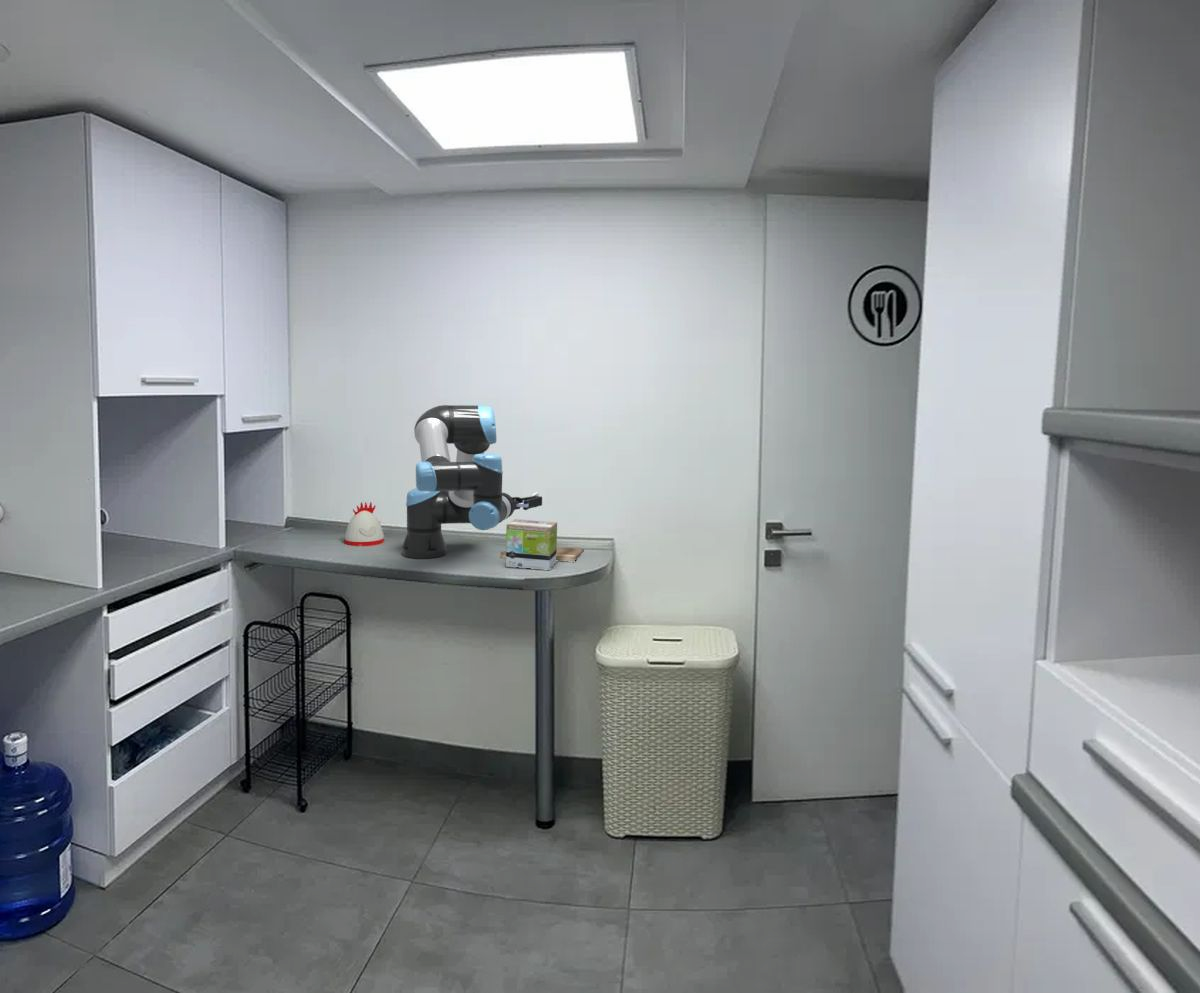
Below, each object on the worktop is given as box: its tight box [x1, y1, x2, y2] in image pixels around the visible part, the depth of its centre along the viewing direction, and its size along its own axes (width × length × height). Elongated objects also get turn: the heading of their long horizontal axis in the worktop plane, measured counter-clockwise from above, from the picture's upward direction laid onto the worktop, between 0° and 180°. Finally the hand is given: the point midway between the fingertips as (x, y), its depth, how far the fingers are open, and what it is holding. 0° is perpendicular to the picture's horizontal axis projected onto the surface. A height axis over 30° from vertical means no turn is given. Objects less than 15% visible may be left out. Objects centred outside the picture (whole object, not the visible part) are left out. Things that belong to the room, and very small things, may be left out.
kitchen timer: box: [344, 501, 385, 547], centre depth 278 cm, size 14×14×15 cm
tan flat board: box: [500, 546, 585, 562], centre depth 267 cm, size 26×18×2 cm
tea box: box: [505, 518, 558, 571], centre depth 250 cm, size 15×10×15 cm, turn 80°
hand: (518, 495), depth 230 cm, fingers open, 11 cm apart
